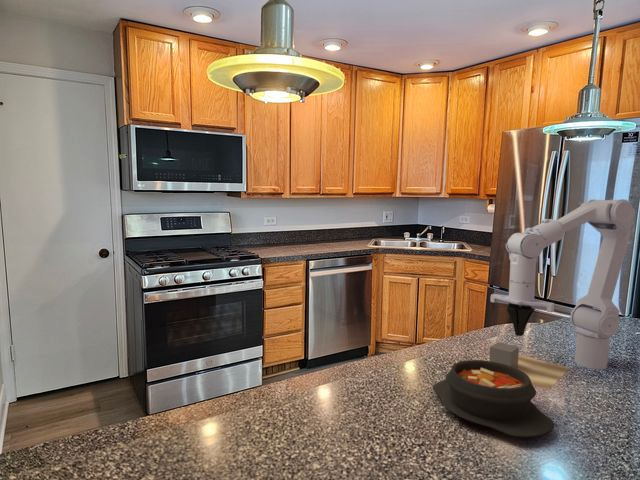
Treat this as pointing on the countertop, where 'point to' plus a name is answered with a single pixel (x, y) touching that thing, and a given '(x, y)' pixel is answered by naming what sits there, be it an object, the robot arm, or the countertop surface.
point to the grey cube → (504, 354)
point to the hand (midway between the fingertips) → (519, 334)
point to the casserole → (493, 398)
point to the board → (541, 371)
